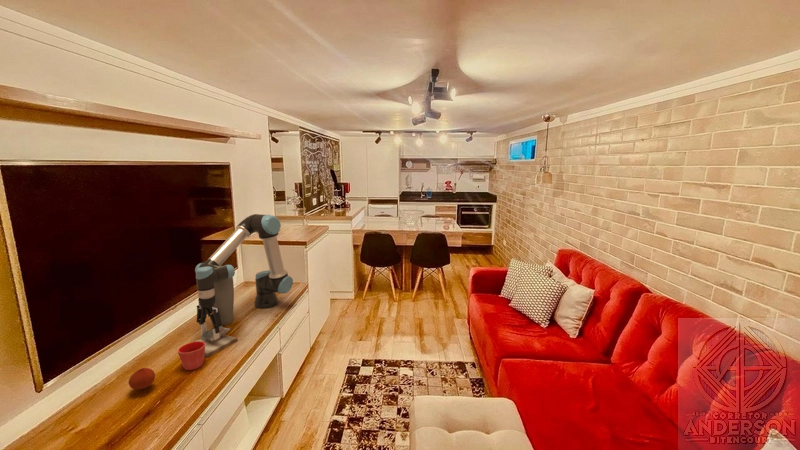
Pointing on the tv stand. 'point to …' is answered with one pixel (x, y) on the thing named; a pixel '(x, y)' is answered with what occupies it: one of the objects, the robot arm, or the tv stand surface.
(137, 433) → the tv stand surface
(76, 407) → the tv stand surface
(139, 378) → the fruit
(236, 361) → the tv stand surface
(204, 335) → the packaged food
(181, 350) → the flower pot
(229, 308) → the vase
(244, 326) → the tv stand surface
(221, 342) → the stand
